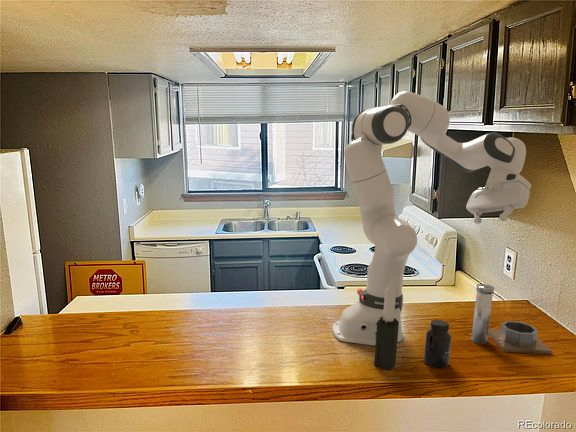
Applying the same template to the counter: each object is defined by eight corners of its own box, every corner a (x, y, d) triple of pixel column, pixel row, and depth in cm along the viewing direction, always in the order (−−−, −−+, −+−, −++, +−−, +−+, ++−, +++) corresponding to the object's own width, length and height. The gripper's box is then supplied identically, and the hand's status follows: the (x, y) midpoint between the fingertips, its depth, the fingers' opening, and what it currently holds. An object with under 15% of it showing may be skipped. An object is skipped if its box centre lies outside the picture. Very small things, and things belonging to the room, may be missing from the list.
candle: (396, 363, 127) (403, 278, 123) (390, 371, 123) (397, 283, 118) (379, 358, 130) (385, 274, 125) (372, 365, 125) (379, 279, 121)
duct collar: (504, 351, 137) (506, 335, 136) (486, 332, 150) (488, 317, 150) (551, 354, 136) (554, 338, 135) (529, 334, 150) (531, 319, 149)
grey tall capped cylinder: (473, 343, 141) (480, 288, 138) (468, 336, 146) (474, 283, 143) (490, 344, 141) (496, 289, 138) (484, 337, 146) (490, 284, 143)
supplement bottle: (450, 369, 125) (454, 329, 123) (424, 366, 126) (428, 326, 124) (446, 358, 131) (450, 319, 129) (422, 355, 133) (426, 316, 130)
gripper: (468, 184, 153) (456, 219, 149) (524, 173, 135) (511, 213, 130) (481, 194, 155) (469, 228, 151) (536, 184, 137) (525, 224, 133)
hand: (489, 221), depth 141 cm, fingers open, 8 cm apart
